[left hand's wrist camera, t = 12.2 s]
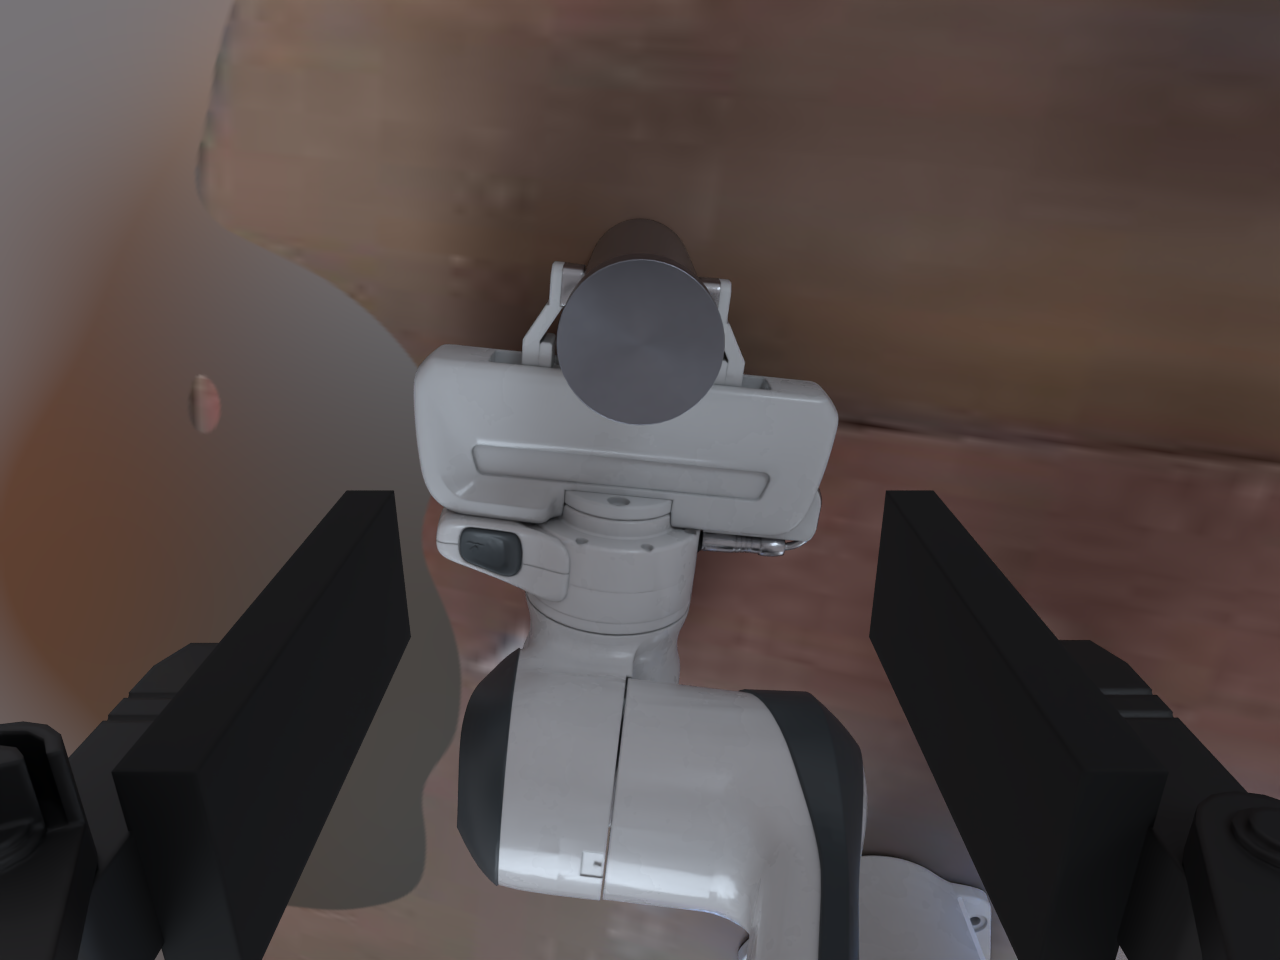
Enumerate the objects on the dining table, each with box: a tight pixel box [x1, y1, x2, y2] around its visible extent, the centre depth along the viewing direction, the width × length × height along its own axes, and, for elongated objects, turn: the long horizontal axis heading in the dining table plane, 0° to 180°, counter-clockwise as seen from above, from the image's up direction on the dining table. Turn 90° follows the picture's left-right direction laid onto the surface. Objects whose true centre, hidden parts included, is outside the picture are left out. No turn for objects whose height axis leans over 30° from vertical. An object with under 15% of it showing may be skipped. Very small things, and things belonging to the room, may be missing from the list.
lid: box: [556, 253, 725, 425], centre depth 30 cm, size 6×6×2 cm
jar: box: [582, 219, 698, 278], centre depth 38 cm, size 5×5×17 cm
